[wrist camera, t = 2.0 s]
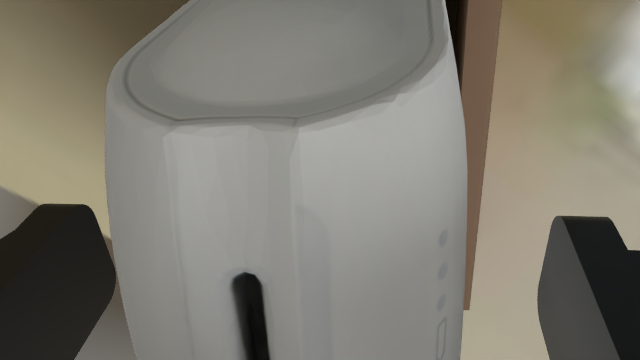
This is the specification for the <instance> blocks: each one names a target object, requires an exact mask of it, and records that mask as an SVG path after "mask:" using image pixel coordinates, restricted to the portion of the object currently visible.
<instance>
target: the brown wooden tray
mask: <svg viewBox="0 0 640 360" xmlns="http://www.w3.org/2000/svg"><path fill="white" fill-rule="evenodd" d="M501 8H502V0H457V4H456V21H455V37H454V56H455V61H456V67H457V74H458V81H459V88H460V95H461V101H462V108H463V115H464V122H465V135H466V151H467V233H466V266H465V290H464V308H463V310H469V307H470V298H471V289H472V279H473V270H474V260H475V251H476V242H477V232H478V223H479V214H480V204H481V195H482V185H483V176H484V167H485V157H486V148H487V139H488V129H489V120H490V111H491V101H492V92H493V82H494V73H495V64H496V54H497V45H498V36H499V26H500V17H501Z"/></svg>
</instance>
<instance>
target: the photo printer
mask: <svg viewBox="0 0 640 360" xmlns="http://www.w3.org/2000/svg"><path fill="white" fill-rule="evenodd" d="M105 179H106V190H107V206H108V214H109V223H110V234H111V238H112V244H113V252H114V259H115V264H116V269H117V274H118V279H119V284H120V290H121V296H122V301H123V306H124V310H125V315H126V320H127V324H128V328H129V332H130V336H131V340H132V344H133V348H134V352H135V355H136V359H137V360H460V352H461V339H462V324H463V308H464V290H465V266H466V233H467V151H466V135H465V122H464V115H463V108H462V101H461V95H460V88H459V81H458V74H457V67H456V61H455V56H454V50H453V44H452V39H451V33H450V27H449V21H448V15H447V9H446V3H445V0H190V1H189V2H188V3H186V4H185V5H183V6H182V7H181V8H180V9H179V10H177V11H176V12H175V13H173V14H172V15H171V16H170V17H169V18H168V19H167V20H166V21H164V22H163V23H161V24H160V25H159V26H158V27H156V28H155V29H154V30H153V31H152V32H150V33H149V34H148V35H147V36H145V37H144V38H143V39H142V40H140V41H139V42H138V43H137V44H136V45H134V46H133V47H132V48H131V49H130V50H129V51H128V52H127V53H126V54H125V55H124V56H123V57H122V58H121V59H120V60H119V61H118V62H117V63H116V65H115V66H114V68H113V70H112V71H111V75H110V78H109V81H108V85H107V88H106V98H105Z"/></svg>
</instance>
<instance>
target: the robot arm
mask: <svg viewBox="0 0 640 360" xmlns="http://www.w3.org/2000/svg"><path fill="white" fill-rule="evenodd" d="M115 283H116V273H115V268H114V265H113V262H112V259H111V257H110V254H109V251H108V249H107V246H106V244H105V241H104V238H103V235H102V233H101V230H100V227H99V225H98V222H97V220H96V217H95V214H94V212H93V211H92V209H91V208H90V207H89V206H87V205H84V204H42V205H40V206H38V207H37V208H36V209H35V210H34V211H33V212H32V213H31V214H30V215H29V216H28V217H27V218H26V219H25V220H24V221H23V222H22V223H21V224H20V226H19V227H18V228H17V229H16V230H15V231H13V232H11V233H9V234H8V235H6V236H5V237H3V238H2V239H0V360H74V359H75V357H76V356H77V354H78V352H79V351H80V349H81V348H82V346H83V344H84V343H85V341H86V339H87V338H88V336H89V335H90V333H91V331H92V330H93V328H94V327H95V325H96V323H97V321H98V320H99V318H100V317H101V315H102V313H103V312H104V310H105V309H106V307H107V306H108V304H109V302H110V300H111V298H112V296H113V293H114V289H115ZM538 315H539V321H540V325H541V329H542V333H543V336H544V340H545V343H546V347H547V351H548V354H549V358H550V360H640V251H637V250H628V249H627V247H626V246H625V244H624V242H623V240H622V238H621V236H620V234H619V232H618V231H617V229H616V227H615V225H614V223H613V222H612V220H611V219H610V218H608V217H584V216H556V217H555V218H554V220H553V222H552V225H551V229H550V234H549V239H548V243H547V248H546V253H545V257H544V262H543V267H542V272H541V276H540V281H539V286H538Z"/></svg>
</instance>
